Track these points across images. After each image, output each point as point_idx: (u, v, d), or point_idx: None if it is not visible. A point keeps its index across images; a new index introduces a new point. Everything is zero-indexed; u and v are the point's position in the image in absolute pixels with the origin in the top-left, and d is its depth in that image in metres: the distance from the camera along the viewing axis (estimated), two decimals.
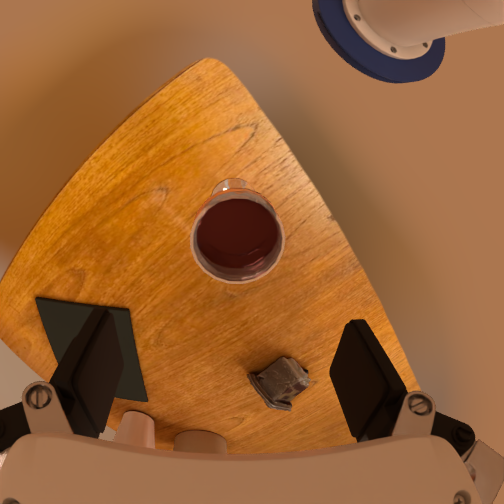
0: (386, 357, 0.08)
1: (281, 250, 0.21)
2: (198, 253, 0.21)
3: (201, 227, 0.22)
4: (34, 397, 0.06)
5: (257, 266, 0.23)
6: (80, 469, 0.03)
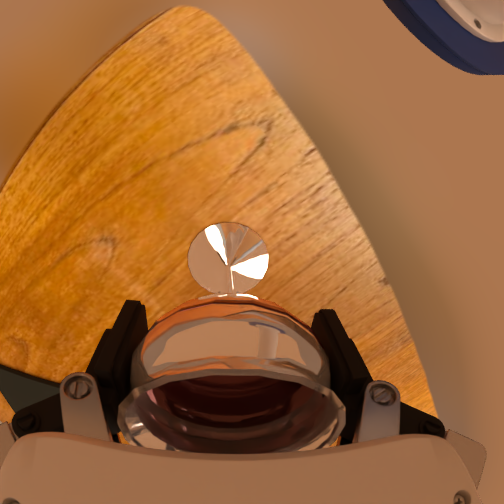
0: (350, 346, 0.09)
1: (330, 441, 0.07)
2: (148, 437, 0.08)
3: None
4: (73, 388, 0.06)
5: (272, 429, 0.10)
6: (80, 469, 0.03)
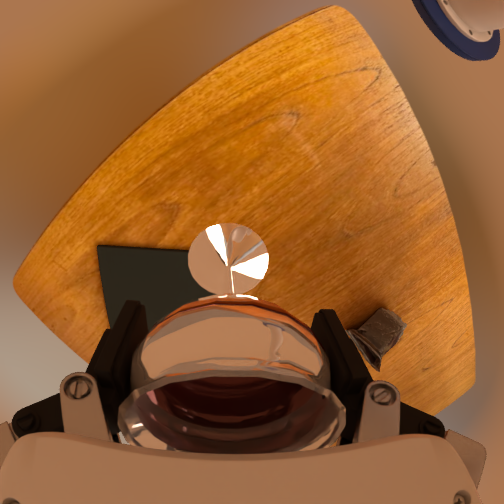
0: (350, 346, 0.09)
1: (330, 442, 0.07)
2: (148, 438, 0.08)
3: None
4: (73, 388, 0.06)
5: (272, 430, 0.10)
6: (80, 469, 0.03)
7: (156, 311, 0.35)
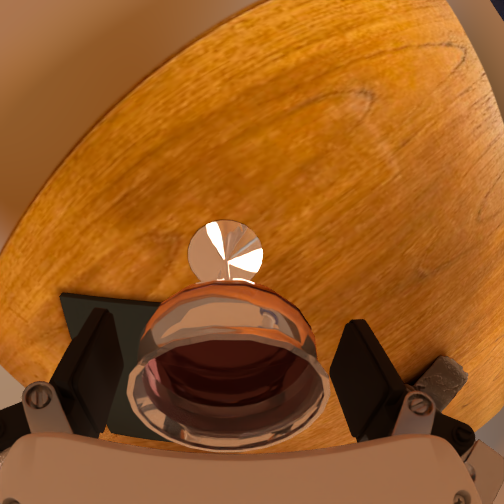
0: (386, 357, 0.08)
1: (318, 412, 0.09)
2: (153, 410, 0.09)
3: None
4: (34, 397, 0.06)
5: (266, 407, 0.12)
6: (80, 469, 0.03)
7: None
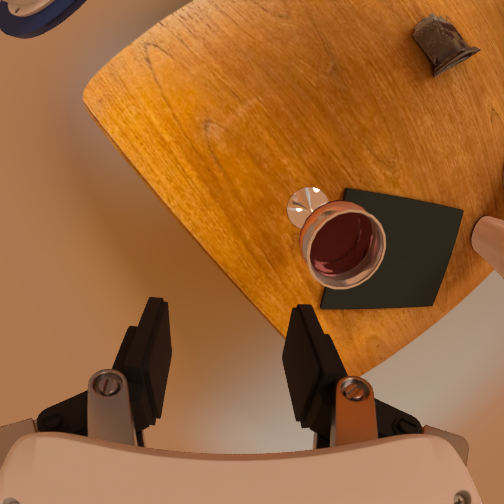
0: (324, 340, 0.09)
1: (362, 212, 0.20)
2: (352, 280, 0.23)
3: (330, 268, 0.25)
4: (102, 385, 0.07)
5: (373, 223, 0.23)
6: (80, 469, 0.03)
7: (389, 263, 0.35)
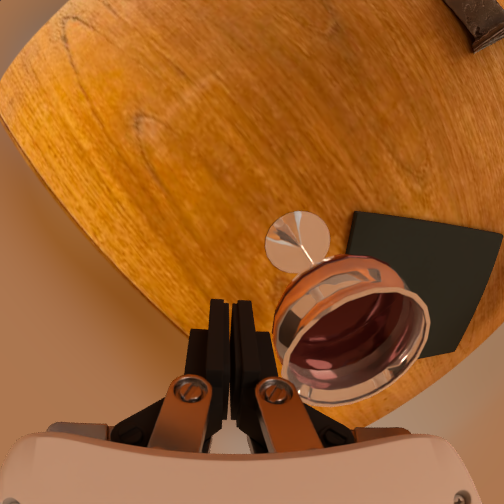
0: (253, 338, 0.09)
1: (397, 291, 0.09)
2: (362, 386, 0.12)
3: (327, 362, 0.14)
4: (184, 392, 0.07)
5: None
6: (80, 469, 0.03)
7: None
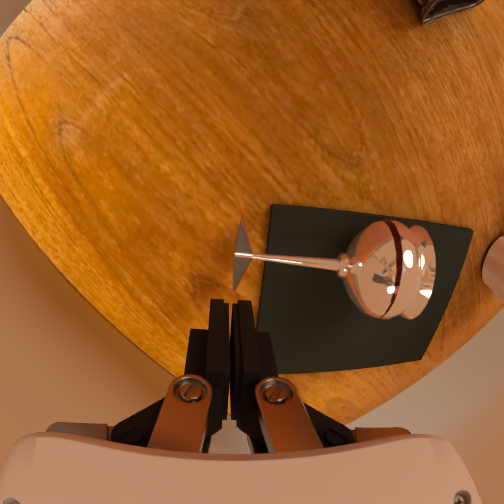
0: (253, 338, 0.09)
1: (419, 228, 0.17)
2: None
3: None
4: (184, 392, 0.07)
5: None
6: (80, 469, 0.03)
7: (355, 315, 0.24)
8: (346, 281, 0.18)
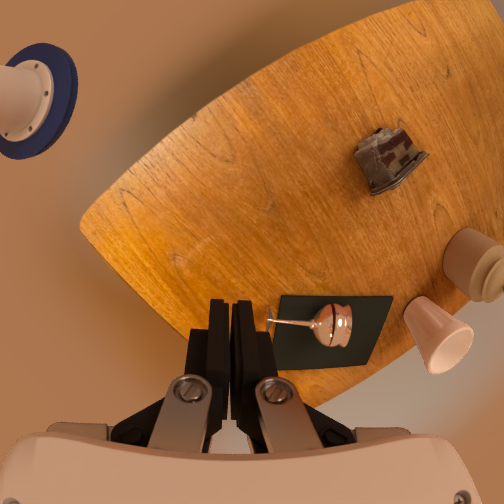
0: (253, 338, 0.09)
1: (349, 307, 0.41)
2: None
3: None
4: (184, 392, 0.07)
5: None
6: (80, 469, 0.03)
7: None
8: (313, 331, 0.41)
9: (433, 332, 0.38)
